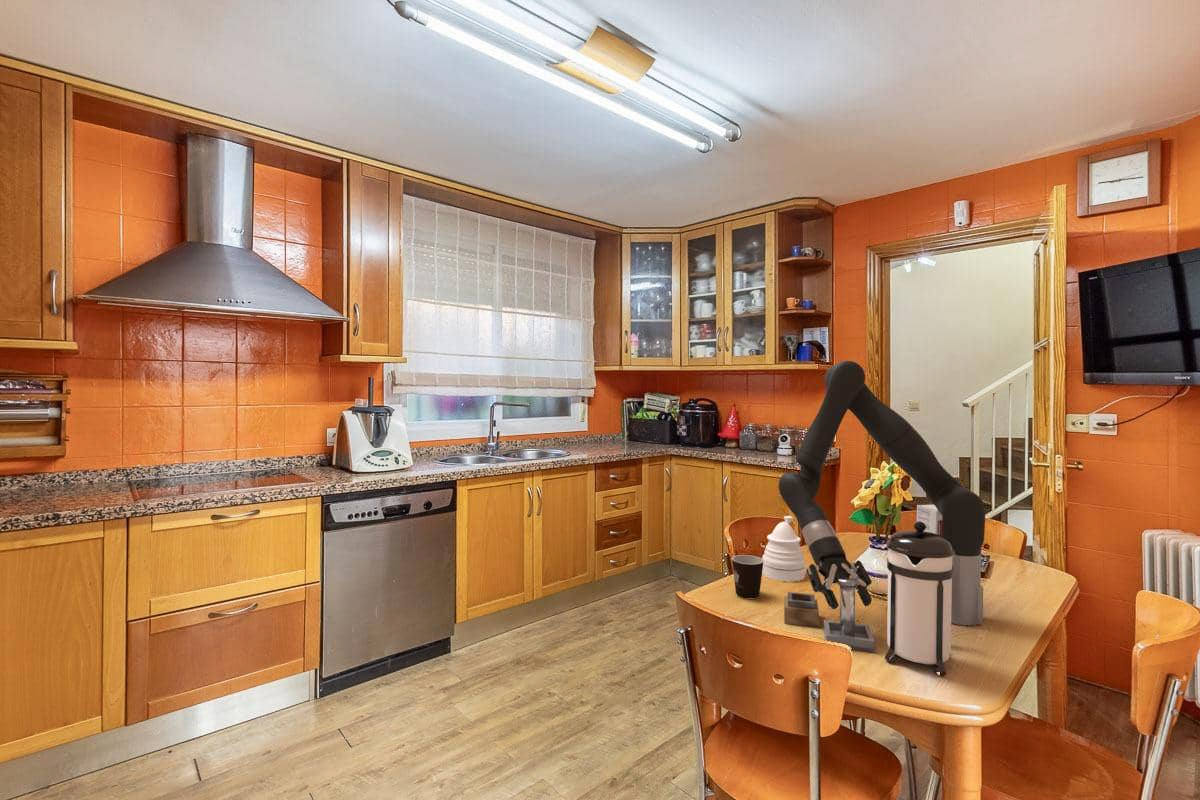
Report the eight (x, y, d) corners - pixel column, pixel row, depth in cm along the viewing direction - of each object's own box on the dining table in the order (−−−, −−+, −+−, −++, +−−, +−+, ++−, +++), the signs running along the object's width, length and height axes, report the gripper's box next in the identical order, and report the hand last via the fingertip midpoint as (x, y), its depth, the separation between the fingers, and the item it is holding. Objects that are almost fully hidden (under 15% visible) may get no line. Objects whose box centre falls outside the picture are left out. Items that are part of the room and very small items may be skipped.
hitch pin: (856, 634, 136) (856, 577, 136) (858, 641, 132) (858, 582, 132) (837, 632, 137) (836, 576, 137) (838, 639, 133) (838, 581, 133)
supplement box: (934, 559, 197) (935, 510, 196) (914, 551, 206) (915, 504, 205) (959, 557, 199) (959, 508, 198) (938, 550, 208) (938, 503, 207)
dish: (868, 635, 137) (868, 625, 137) (874, 652, 128) (874, 641, 128) (823, 630, 140) (823, 620, 140) (826, 646, 131) (826, 635, 131)
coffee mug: (764, 601, 159) (764, 565, 158) (732, 599, 160) (732, 563, 160) (761, 586, 170) (761, 553, 170) (731, 584, 172) (731, 551, 171)
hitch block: (816, 614, 149) (817, 593, 149) (818, 627, 142) (819, 605, 142) (784, 611, 152) (784, 590, 152) (784, 623, 144) (784, 601, 144)
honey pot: (781, 566, 189) (782, 511, 189) (814, 577, 178) (814, 519, 178) (753, 572, 183) (753, 516, 182) (785, 585, 172) (786, 524, 171)
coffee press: (980, 675, 118) (983, 529, 117) (905, 678, 117) (908, 531, 116) (926, 638, 136) (928, 510, 135) (860, 640, 134) (862, 512, 133)
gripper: (803, 536, 139) (831, 601, 128) (855, 533, 142) (887, 596, 131) (791, 552, 145) (817, 615, 134) (841, 548, 148) (871, 610, 137)
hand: (852, 606), depth 133 cm, fingers open, 8 cm apart
